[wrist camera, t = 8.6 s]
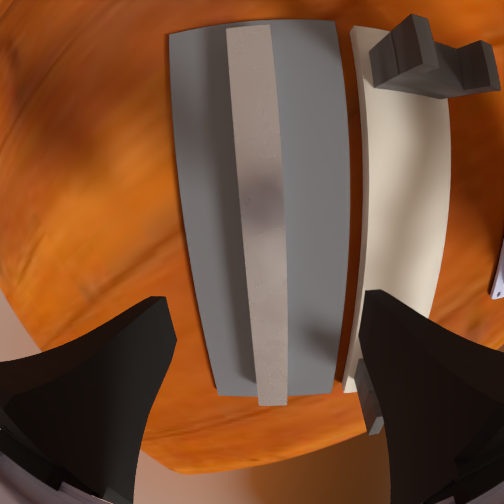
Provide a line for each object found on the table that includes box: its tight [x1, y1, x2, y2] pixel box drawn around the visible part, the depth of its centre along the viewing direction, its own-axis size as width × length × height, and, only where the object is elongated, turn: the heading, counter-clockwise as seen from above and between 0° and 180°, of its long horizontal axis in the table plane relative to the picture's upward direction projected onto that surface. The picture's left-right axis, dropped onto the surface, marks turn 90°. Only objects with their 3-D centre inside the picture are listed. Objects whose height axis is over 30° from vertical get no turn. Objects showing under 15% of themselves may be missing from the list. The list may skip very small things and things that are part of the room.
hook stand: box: [342, 14, 501, 435], centre depth 13 cm, size 6×27×7 cm, turn 4°
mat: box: [169, 19, 350, 396], centre depth 17 cm, size 10×28×1 cm, turn 4°
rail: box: [226, 25, 288, 406], centre depth 16 cm, size 2×25×2 cm, turn 4°
